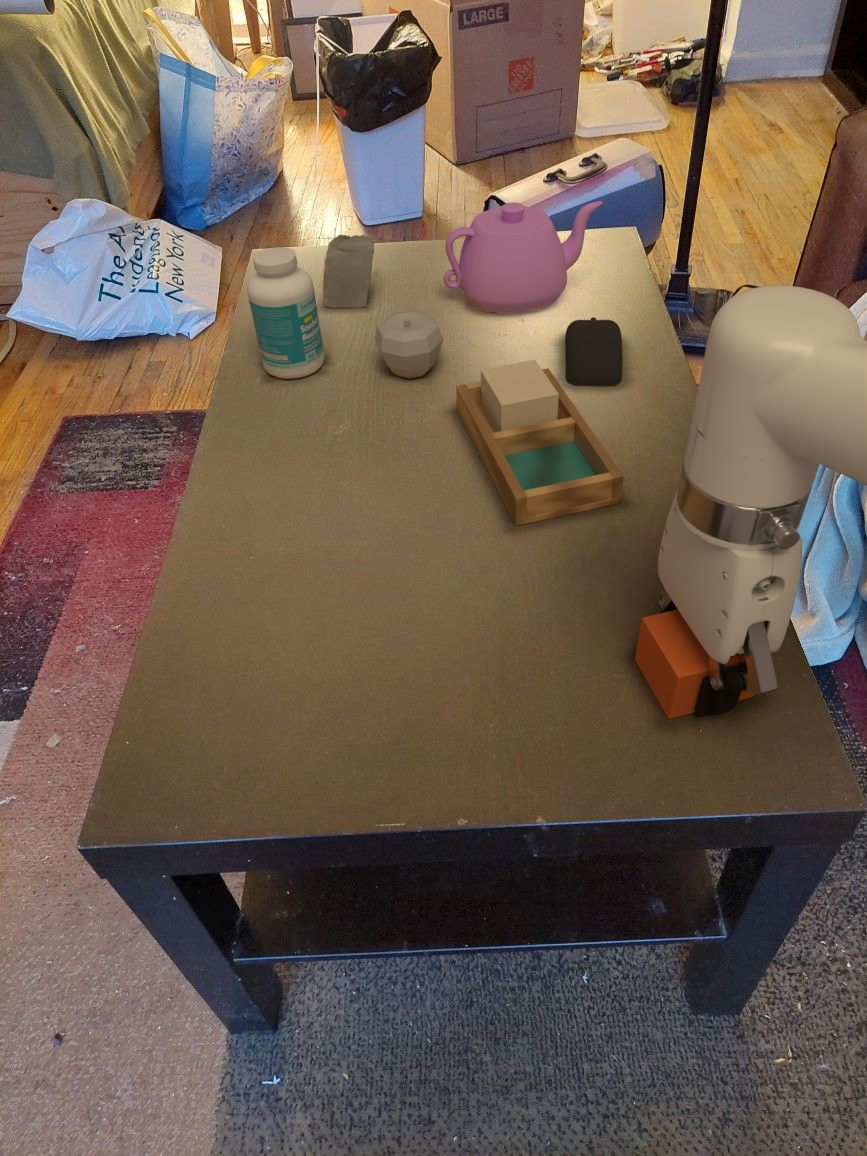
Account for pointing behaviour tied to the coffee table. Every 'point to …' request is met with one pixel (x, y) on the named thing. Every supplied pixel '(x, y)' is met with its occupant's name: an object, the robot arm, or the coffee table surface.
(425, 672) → the coffee table surface
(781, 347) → the robot arm
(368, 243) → the mineral specimen
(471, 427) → the holder
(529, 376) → the beige block
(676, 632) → the orange block
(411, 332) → the apple
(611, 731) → the coffee table surface
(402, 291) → the coffee table surface
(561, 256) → the teapot
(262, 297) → the pill bottle
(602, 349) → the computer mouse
